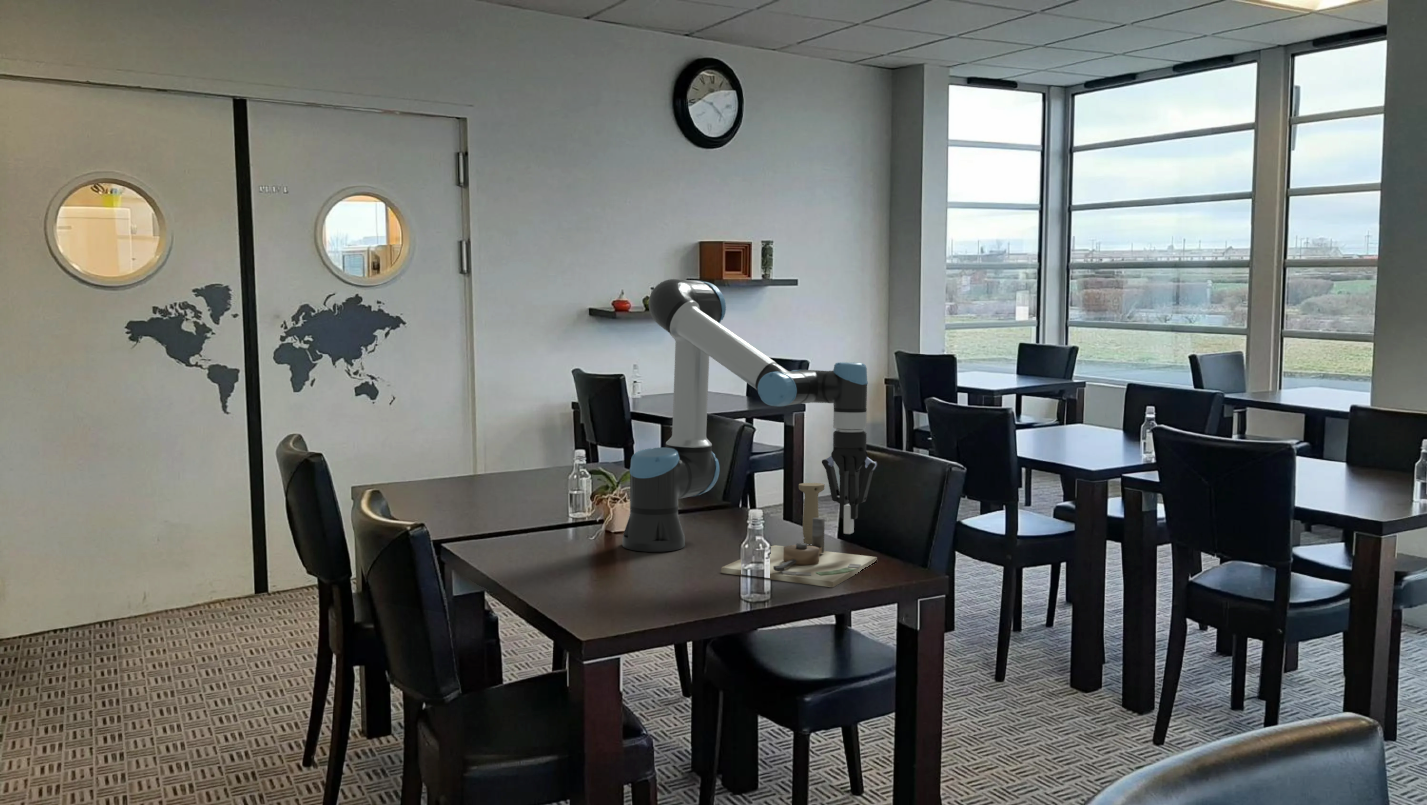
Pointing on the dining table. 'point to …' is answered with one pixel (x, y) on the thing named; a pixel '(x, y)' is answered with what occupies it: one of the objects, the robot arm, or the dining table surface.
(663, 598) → the dining table surface
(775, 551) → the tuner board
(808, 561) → the brown handled round piece
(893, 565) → the dining table surface
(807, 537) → the handle
